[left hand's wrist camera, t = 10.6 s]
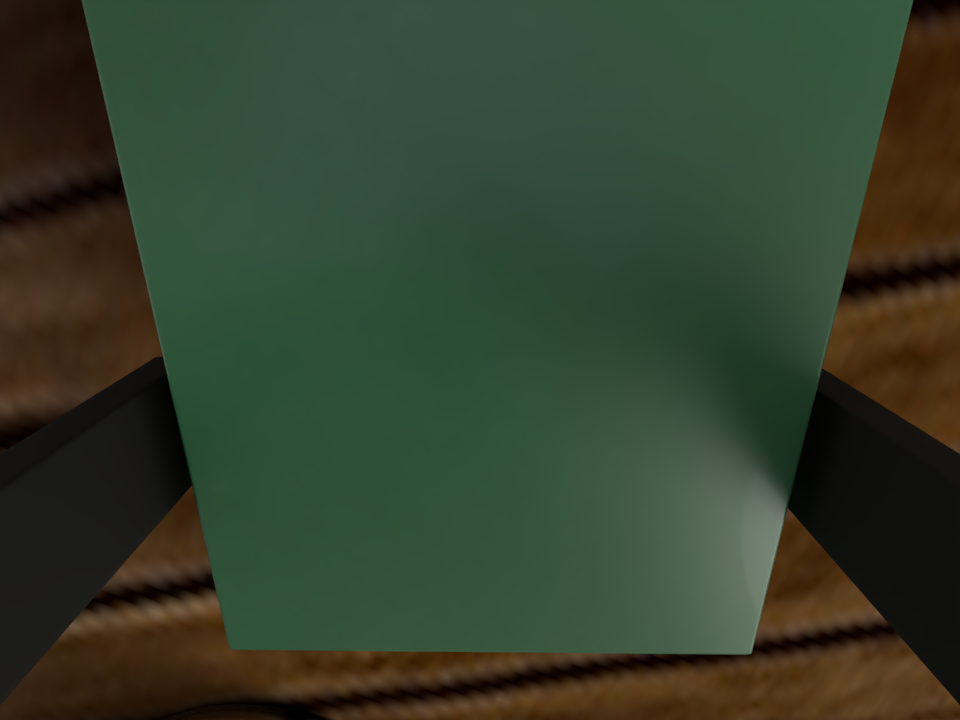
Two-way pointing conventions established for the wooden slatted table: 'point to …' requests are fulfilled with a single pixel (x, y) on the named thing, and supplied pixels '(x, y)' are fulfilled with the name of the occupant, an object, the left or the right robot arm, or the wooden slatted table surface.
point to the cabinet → (494, 301)
